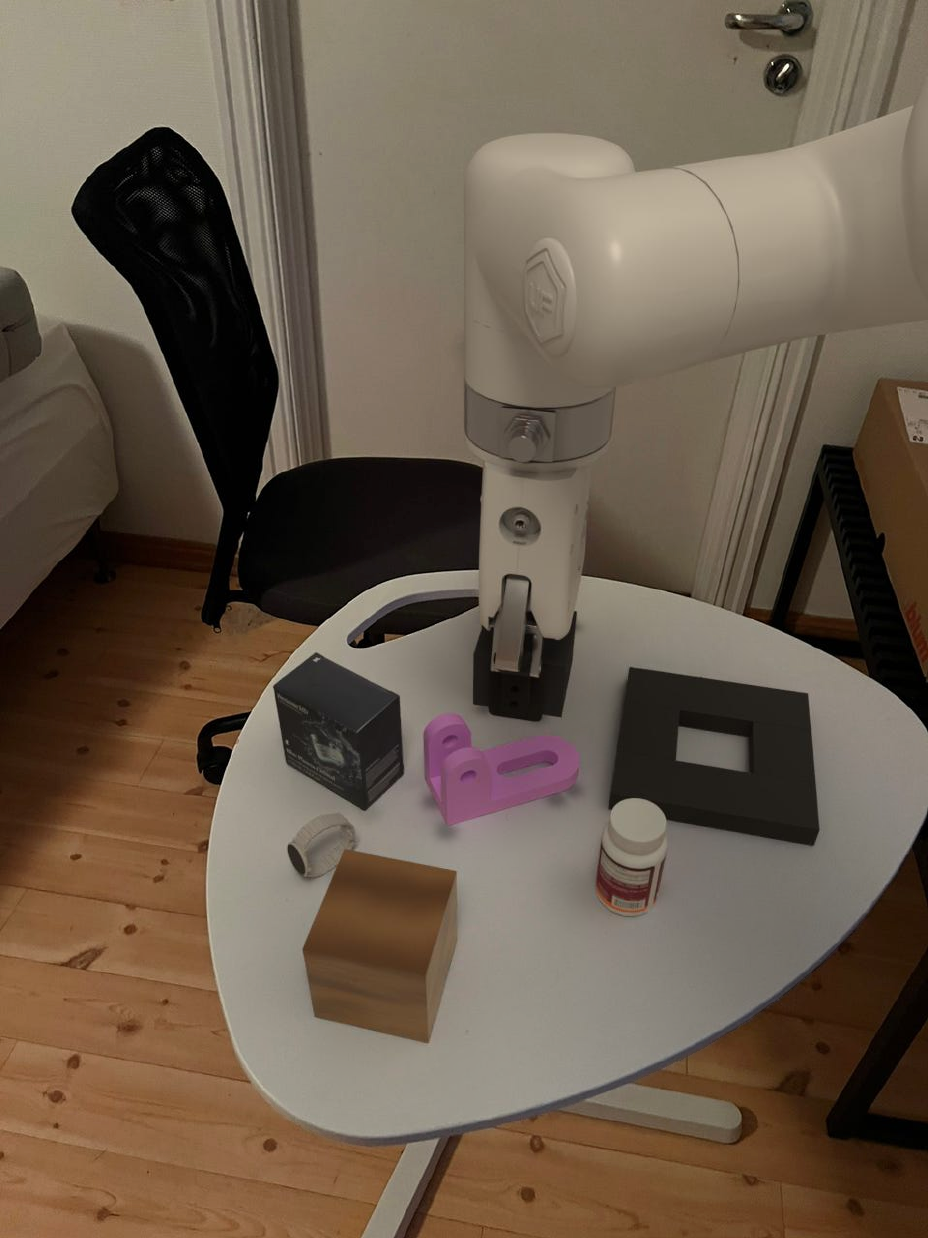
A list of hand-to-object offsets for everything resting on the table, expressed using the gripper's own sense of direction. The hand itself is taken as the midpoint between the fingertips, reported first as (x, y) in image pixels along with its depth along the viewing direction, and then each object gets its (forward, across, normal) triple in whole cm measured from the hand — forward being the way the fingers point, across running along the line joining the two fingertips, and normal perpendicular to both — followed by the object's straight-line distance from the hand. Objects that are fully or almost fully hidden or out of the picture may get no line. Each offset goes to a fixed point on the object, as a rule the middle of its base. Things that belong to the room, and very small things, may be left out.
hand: (524, 679), depth 58 cm
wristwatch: (+22, -1, +15) cm, 26 cm away
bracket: (+22, +11, +2) cm, 24 cm away
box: (+22, +9, +16) cm, 29 cm away
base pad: (+21, +18, -15) cm, 31 cm away
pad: (0, 0, 0) cm, 0 cm away
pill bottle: (+22, +2, -8) cm, 23 cm away
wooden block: (+21, -9, +7) cm, 24 cm away
